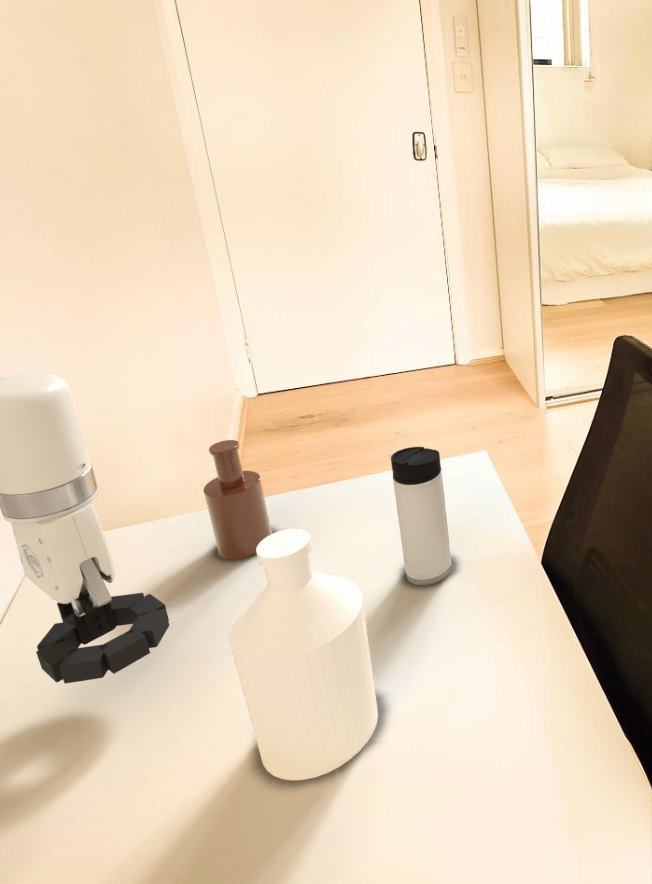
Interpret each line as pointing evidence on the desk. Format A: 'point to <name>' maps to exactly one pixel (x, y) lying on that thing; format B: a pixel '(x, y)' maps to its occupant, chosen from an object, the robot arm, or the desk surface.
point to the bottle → (304, 663)
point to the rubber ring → (94, 661)
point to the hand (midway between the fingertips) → (91, 628)
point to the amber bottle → (235, 504)
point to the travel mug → (421, 514)
